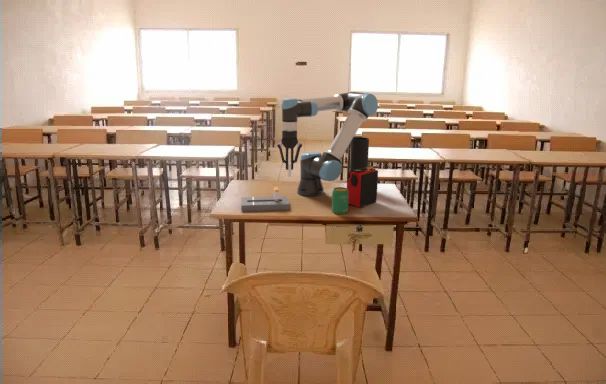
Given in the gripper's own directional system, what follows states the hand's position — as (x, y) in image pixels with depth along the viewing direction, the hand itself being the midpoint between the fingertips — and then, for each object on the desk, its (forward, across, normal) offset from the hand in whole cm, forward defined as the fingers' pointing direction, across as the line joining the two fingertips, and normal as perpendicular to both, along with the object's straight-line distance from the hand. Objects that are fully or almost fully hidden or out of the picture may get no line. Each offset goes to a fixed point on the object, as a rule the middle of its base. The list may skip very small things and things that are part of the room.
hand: (289, 175), depth 234 cm
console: (+16, +13, 0) cm, 20 cm away
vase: (+16, -43, -28) cm, 54 cm away
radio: (+16, -38, 0) cm, 42 cm away
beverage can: (+16, -24, +13) cm, 32 cm away
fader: (+16, +7, 0) cm, 17 cm away
